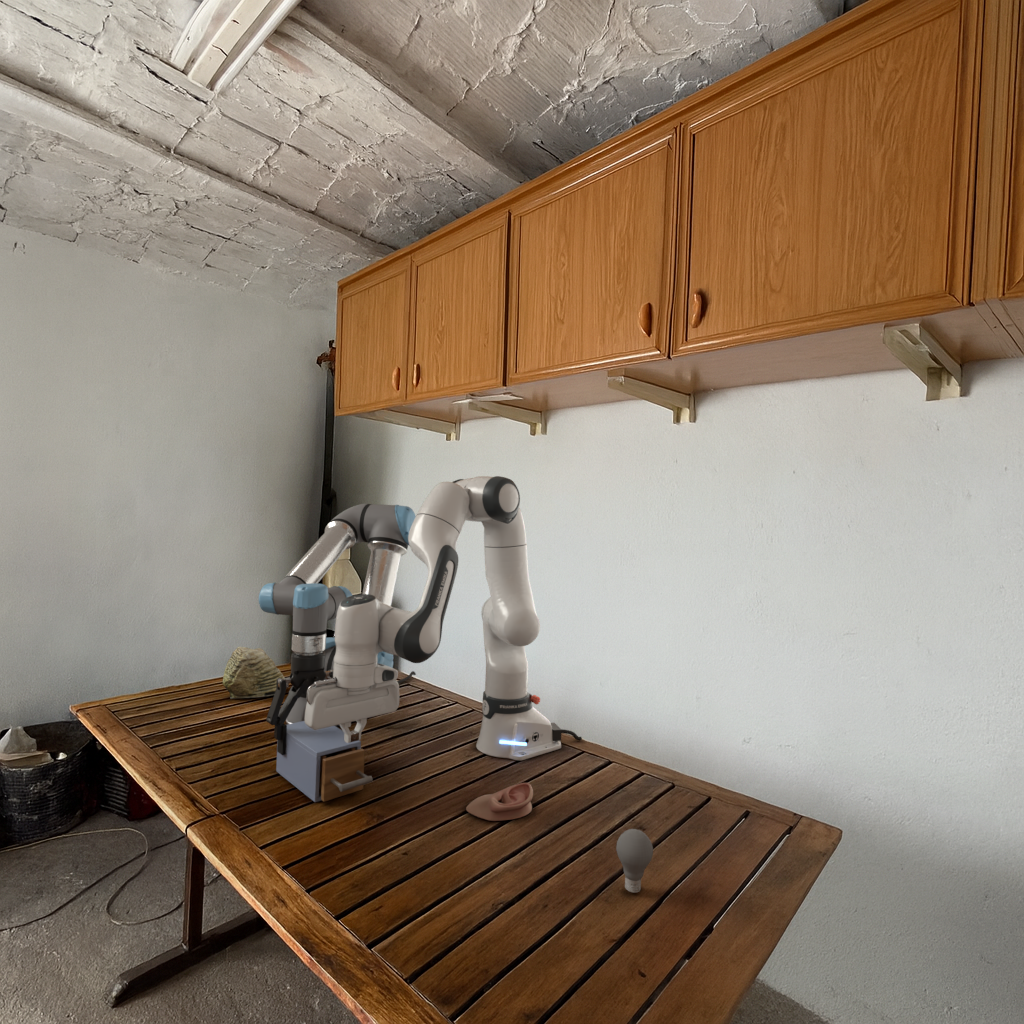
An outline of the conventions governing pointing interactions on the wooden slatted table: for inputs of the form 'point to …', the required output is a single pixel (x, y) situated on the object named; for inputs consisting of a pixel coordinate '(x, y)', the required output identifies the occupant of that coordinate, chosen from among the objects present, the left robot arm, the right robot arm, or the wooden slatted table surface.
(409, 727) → the wooden slatted table surface
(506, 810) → the anatomical model
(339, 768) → the drawer
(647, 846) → the light bulb
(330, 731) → the cabinet
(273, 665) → the fossil
